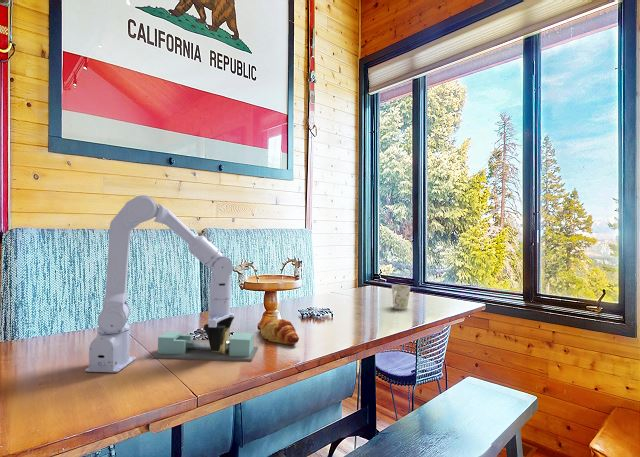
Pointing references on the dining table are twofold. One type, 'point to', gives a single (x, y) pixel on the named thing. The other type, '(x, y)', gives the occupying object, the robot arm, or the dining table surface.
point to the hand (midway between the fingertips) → (219, 345)
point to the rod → (205, 344)
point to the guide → (175, 348)
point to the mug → (400, 296)
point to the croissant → (279, 331)
